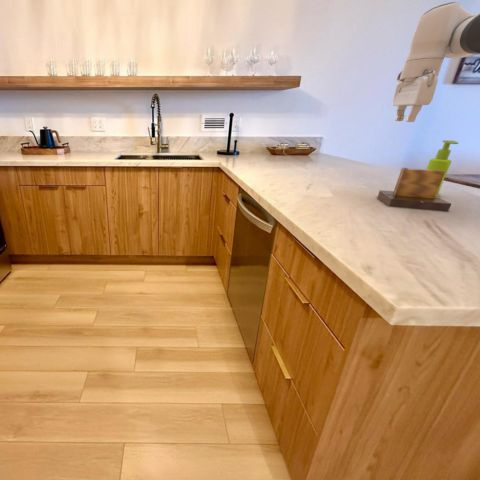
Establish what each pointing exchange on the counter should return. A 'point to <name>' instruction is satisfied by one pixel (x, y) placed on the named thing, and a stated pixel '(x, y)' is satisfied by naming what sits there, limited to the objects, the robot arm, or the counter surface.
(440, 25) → the robot arm
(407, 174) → the wooden block
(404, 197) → the dark square slab
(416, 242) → the counter surface
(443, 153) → the soap dispenser
